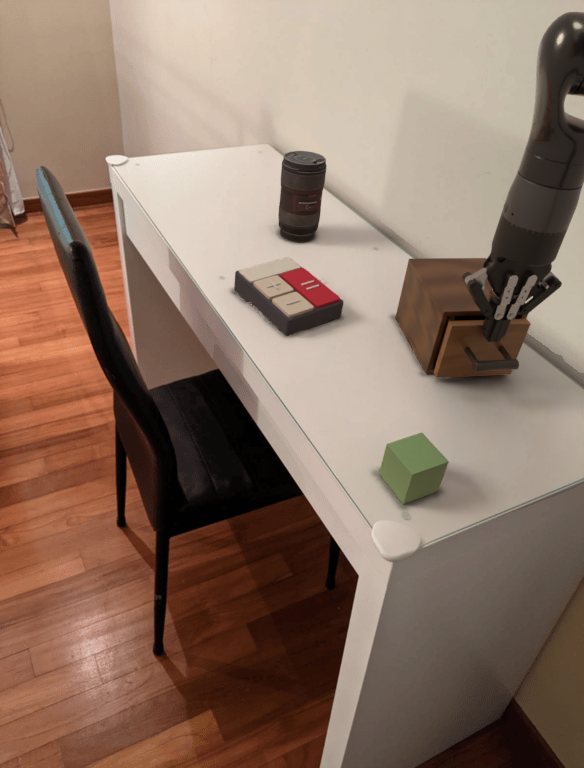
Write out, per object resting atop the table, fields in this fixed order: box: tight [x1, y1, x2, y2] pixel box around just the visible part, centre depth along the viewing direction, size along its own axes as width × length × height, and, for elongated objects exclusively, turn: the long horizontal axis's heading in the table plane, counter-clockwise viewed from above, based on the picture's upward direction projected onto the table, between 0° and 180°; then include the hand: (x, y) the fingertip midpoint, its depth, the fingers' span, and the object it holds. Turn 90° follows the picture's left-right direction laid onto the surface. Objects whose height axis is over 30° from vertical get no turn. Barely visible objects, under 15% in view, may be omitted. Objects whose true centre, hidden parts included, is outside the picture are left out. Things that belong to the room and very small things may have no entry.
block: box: [378, 432, 450, 505], centre depth 70 cm, size 5×5×5 cm
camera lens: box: [277, 150, 327, 243], centre depth 114 cm, size 8×8×15 cm
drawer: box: [433, 315, 531, 379], centre depth 87 cm, size 18×11×9 cm, turn 10°
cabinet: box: [395, 257, 529, 375], centre depth 91 cm, size 15×13×11 cm
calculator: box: [234, 256, 344, 336], centre depth 98 cm, size 11×4×15 cm
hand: (491, 338), depth 81 cm, fingers closed
